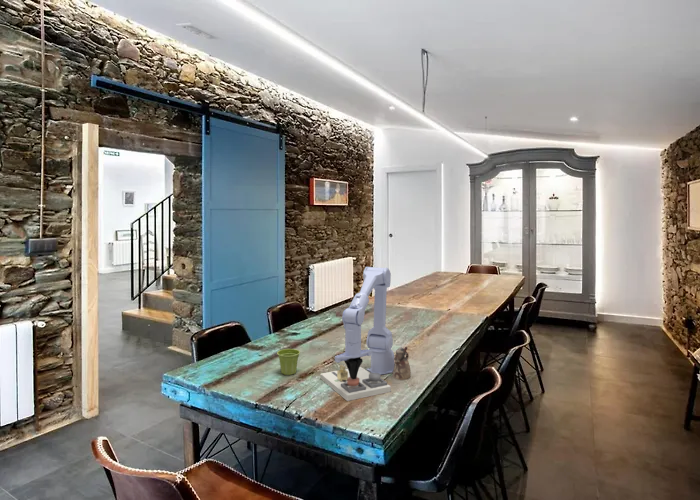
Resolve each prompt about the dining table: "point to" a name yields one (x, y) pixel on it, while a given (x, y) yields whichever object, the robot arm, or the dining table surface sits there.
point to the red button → (353, 381)
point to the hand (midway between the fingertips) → (353, 378)
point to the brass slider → (342, 373)
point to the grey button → (374, 377)
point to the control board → (355, 392)
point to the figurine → (401, 365)
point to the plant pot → (288, 360)
